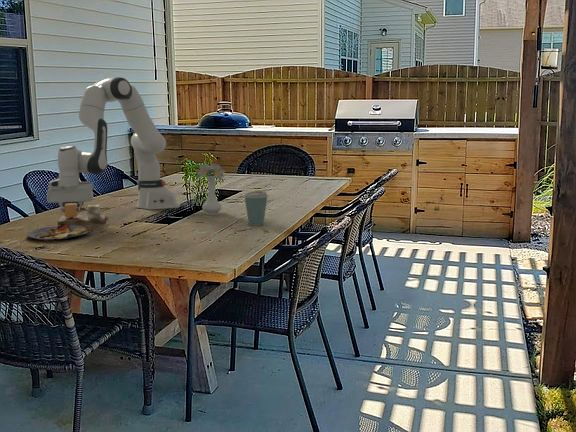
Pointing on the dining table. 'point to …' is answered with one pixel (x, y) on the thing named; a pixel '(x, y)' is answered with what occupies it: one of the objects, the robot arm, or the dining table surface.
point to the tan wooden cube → (71, 210)
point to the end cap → (72, 202)
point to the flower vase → (211, 187)
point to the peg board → (85, 217)
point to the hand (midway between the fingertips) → (71, 211)
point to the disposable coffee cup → (256, 207)
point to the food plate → (58, 232)
